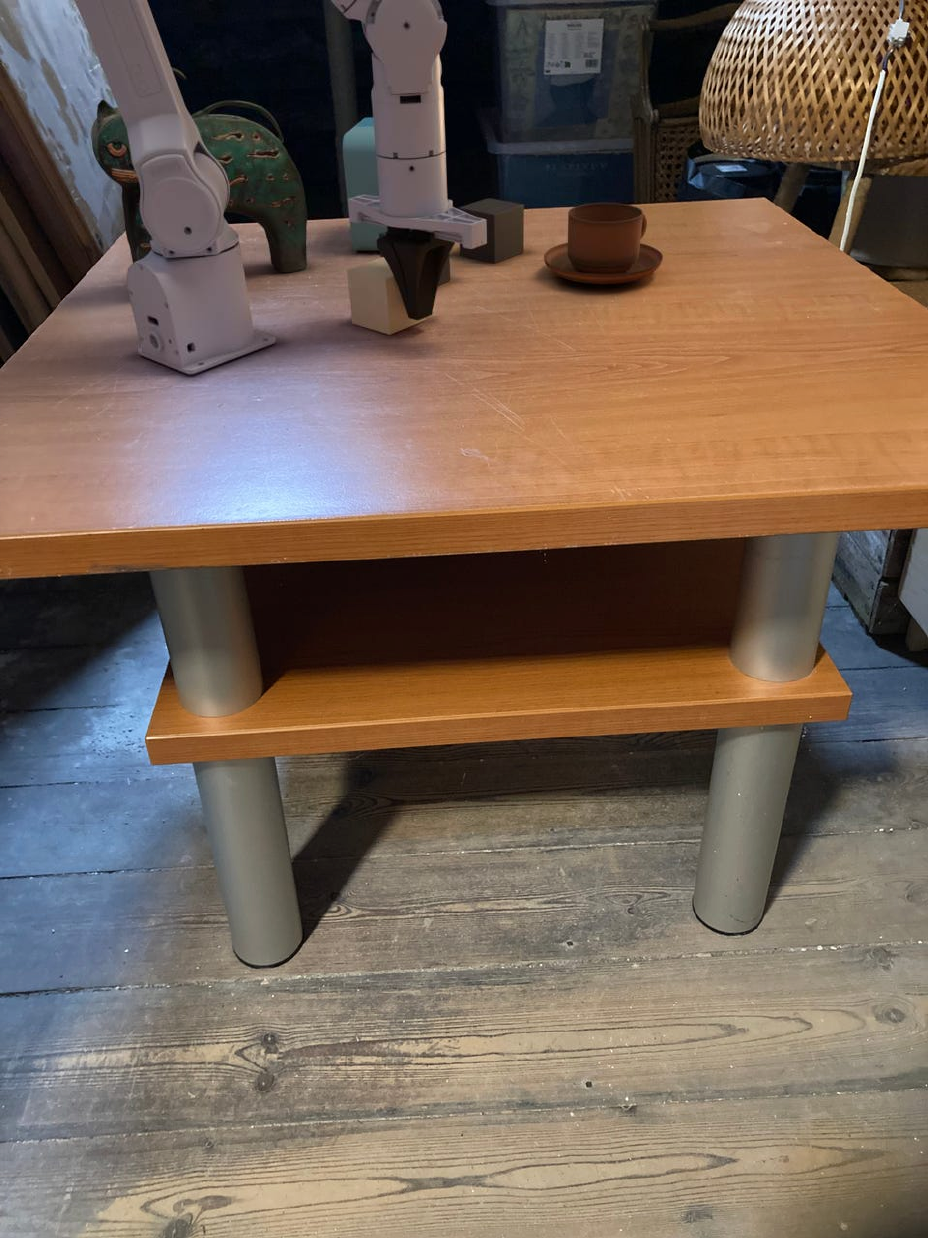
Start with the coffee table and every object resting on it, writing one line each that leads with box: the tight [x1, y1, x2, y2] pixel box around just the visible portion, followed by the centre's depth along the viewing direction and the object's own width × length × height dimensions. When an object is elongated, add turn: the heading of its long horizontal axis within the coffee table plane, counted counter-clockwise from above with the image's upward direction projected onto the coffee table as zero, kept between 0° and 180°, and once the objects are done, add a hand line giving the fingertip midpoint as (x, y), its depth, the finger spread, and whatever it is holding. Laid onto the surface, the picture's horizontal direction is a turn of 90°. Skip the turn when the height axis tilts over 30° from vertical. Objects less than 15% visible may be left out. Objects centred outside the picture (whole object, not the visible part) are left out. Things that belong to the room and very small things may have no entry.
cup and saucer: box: [543, 202, 664, 285], centre depth 97 cm, size 12×12×6 cm
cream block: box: [346, 257, 428, 336], centre depth 88 cm, size 5×5×5 cm
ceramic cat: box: [90, 66, 308, 273], centre depth 95 cm, size 20×6×20 cm, turn 121°
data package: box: [342, 117, 387, 252], centre depth 108 cm, size 12×4×12 cm, turn 172°
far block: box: [458, 197, 525, 264], centre depth 105 cm, size 5×5×5 cm
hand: (420, 316), depth 87 cm, fingers closed
